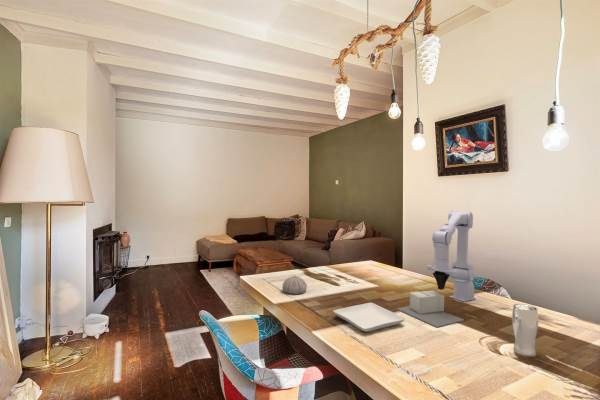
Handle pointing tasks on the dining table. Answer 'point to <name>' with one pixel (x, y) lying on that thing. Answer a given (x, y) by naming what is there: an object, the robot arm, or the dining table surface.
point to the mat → (432, 317)
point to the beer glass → (525, 329)
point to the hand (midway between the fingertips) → (441, 289)
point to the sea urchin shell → (294, 285)
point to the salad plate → (369, 316)
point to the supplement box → (426, 302)
